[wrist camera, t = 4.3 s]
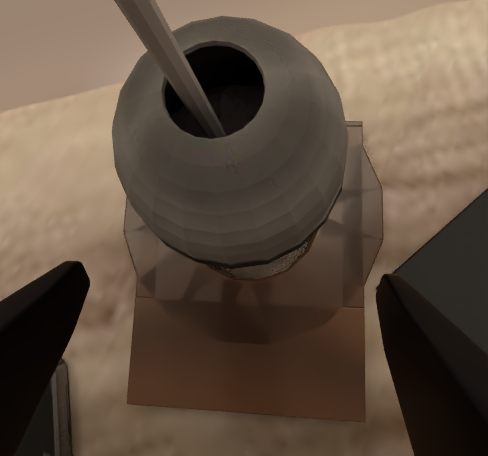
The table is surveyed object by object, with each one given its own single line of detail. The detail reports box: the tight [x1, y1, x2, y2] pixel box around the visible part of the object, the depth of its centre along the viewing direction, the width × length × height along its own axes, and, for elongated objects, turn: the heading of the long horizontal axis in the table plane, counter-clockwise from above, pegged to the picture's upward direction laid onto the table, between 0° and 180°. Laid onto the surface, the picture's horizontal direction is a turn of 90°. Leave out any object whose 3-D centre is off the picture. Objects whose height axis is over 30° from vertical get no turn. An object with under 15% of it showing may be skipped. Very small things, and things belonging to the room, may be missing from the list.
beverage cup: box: [112, 0, 348, 269], centre depth 12 cm, size 7×7×20 cm
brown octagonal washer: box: [124, 121, 383, 422], centre depth 20 cm, size 20×16×2 cm
